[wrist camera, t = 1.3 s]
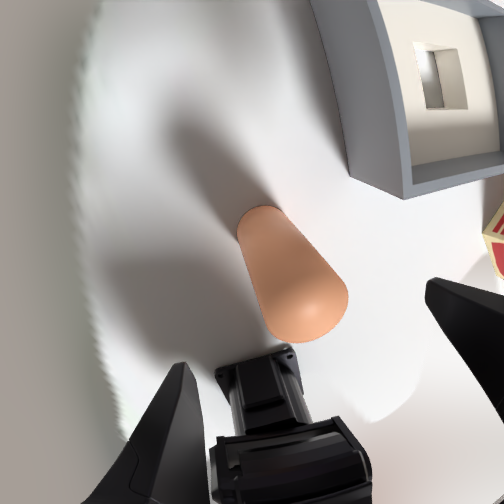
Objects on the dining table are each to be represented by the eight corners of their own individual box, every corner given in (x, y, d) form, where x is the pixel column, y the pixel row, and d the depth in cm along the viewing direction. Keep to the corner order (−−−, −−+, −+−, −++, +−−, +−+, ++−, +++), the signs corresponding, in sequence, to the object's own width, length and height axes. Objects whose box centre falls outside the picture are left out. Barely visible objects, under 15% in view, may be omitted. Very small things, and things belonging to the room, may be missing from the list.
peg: (293, 247, 18) (349, 326, 11) (244, 262, 18) (273, 352, 11) (284, 199, 17) (345, 258, 10) (230, 214, 17) (255, 286, 9)
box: (482, 151, 17) (531, 166, 13) (349, 176, 17) (403, 200, 12) (458, 17, 12) (506, 10, 7) (307, -6, 12) (348, -45, 7)
